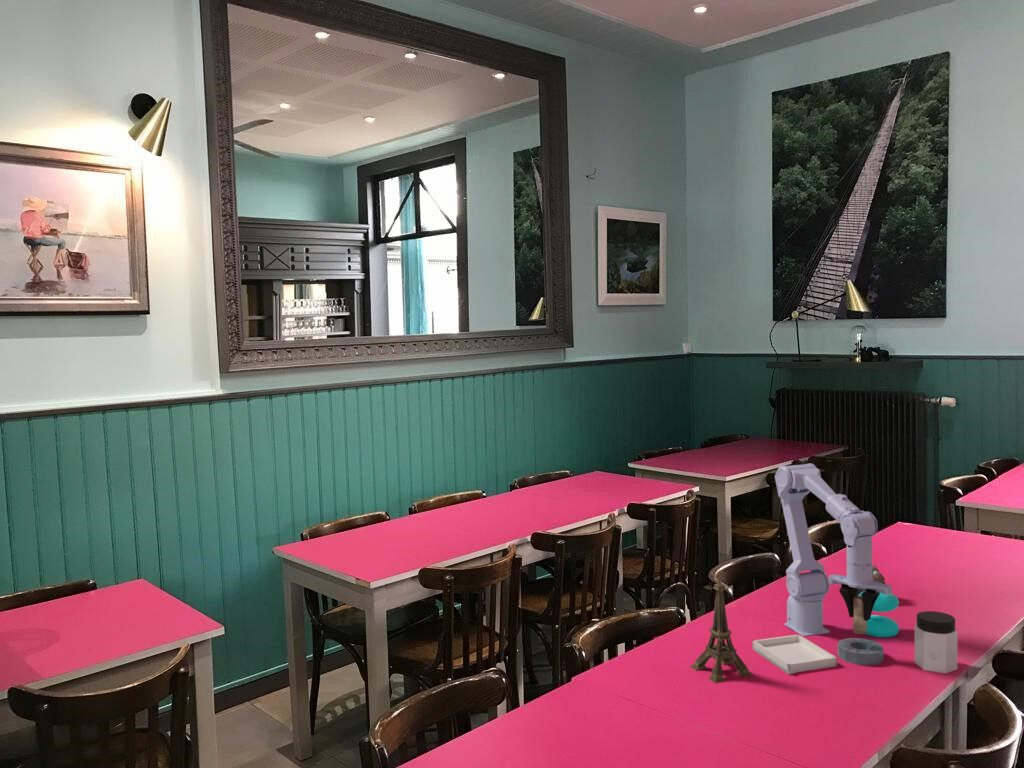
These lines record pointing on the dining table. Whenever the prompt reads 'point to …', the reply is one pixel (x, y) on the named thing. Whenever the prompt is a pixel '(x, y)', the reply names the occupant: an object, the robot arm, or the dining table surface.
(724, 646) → the eiffel tower
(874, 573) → the cupcake
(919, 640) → the jar
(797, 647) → the tray
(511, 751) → the dining table surface
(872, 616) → the donuts
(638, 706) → the dining table surface
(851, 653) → the grey faceted ashtray
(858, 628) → the pin
